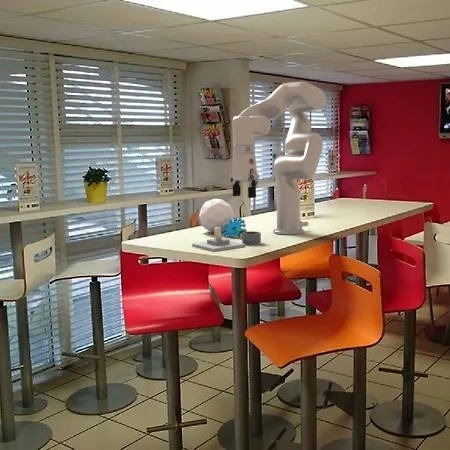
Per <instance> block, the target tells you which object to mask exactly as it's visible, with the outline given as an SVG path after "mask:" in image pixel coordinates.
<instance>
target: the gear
mask: <svg viewBox="0 0 450 450" xmlns="http://www.w3.org/2000/svg"><path fill="white" fill-rule="evenodd" d="M229 223H230V224H229V226H228V224H225V225H224V226H225V227H227V229H225V228H223V235H224V237H226V239H230V238H232V239H234V238H235V236H236V237H240V236H241V235H242V233H243V232H248V230H247V229H246V226H247V225H246V222H245V219H242V218H241V217H238V218H237V217H233V222H232V220H229ZM242 227H243V228H242Z"/></svg>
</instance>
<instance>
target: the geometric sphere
mask: <svg viewBox="0 0 450 450" xmlns="http://www.w3.org/2000/svg"><path fill="white" fill-rule="evenodd" d="M199 211H200V212H199V214H198V218H199V221H200V223H201V227H203V228H204V229H206V230H207V231H208V232H211V233H214V230H215V228H216V227H221V233H222V232H223V228H225V229H227V227H225V226H224V225H225V224H228V226H229V224H230V223H229V220H232V222H233V220H234V211H233V208H232V205H231V204H229V203H228V202H227V201H225V200H223V199H221V198H212V199H210V200H207V201H205V202H204V203H203V204H202V207H201V209H200V210H199ZM223 233H224V232H223Z"/></svg>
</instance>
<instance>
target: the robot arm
mask: <svg viewBox="0 0 450 450" xmlns="http://www.w3.org/2000/svg"><path fill="white" fill-rule="evenodd" d="M326 105H327V95H326V94H325V92H324V91H323V90H322V89H320V88H319V87H317V86H315V85H314V84H311V83H309V82H307V81H293V82H291V81H290V82H285V83H282V84H280V85H279V86H278V87H276V89H275V90H274V91H273V92H272V93H271V94H269V96H267V97H266V98H265V99H263V100H261V101H259V102H258V103H255V104H253V105H251V106H249V107H247V108H246V109H244V110H243V111H241V113H240V114H239V115H238V116H234V117H233V119H232V161H231V162H232V163H231V164H232V165H231V166H232V167H231V172H229V174H228V175H229V178H230V182H231V186H232V196H233V197H240V196H241V193H242V192H241V182H246V183H247V185H248V187H247V198H248V199H254V198H257V187H258V183H259V178H260V174H259V173H258V171H257V170H258V169H257V159H256V154H255V153H254V152H255V151H254V137H263V136H266V135H267V134H269V133H270V131H271V127H272V124H271V120H275V119H277V118H279V117H281V116H282V115H283V113H284V112H285V111H286V110H288V113H289V117H290V121H291V122H290V127H289V129H288V131H287V135H286V139H285V142H284V147H283V149H284V152H285V153H286V154H287V155H282V156H279V157H277V158H276V159H275V161H274V163H273V172H274V177H275V184H276V185H275V187H276V228H274V229H273V230H272V231H273V234H276V235H299V234H300V235H301V234H303V233H305V229H303V227H308V226H309V222H308V221H302V220H301V198H300V197H301V192H300V190H301V189H300V187H299V184H298V181H296V180H300V181H301V180H304V181H305V180H307V181H308V180H311V179H312V178H313V177H314V176H315V174H316V172H317V168H318V165H319V162H320V159H321V155H322V154H323V153H322V152H323V146H324V145H323V144H324V143H323V138H322V137H321V135H320V133H317V132H313V131H311V130H312V124H311V121H310V119H309V117H308V116H307V115H306V112H317V111H322V110H323V109H324V108H325V107H326Z"/></svg>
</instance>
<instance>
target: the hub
mask: <svg viewBox="0 0 450 450" xmlns="http://www.w3.org/2000/svg"><path fill="white" fill-rule="evenodd" d="M241 239H242V240H241V243H243V244H245V246H257V245H261V244H262V233H261V232H260V231H252V230H251V231H247V232H243V233H242V234H241Z"/></svg>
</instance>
